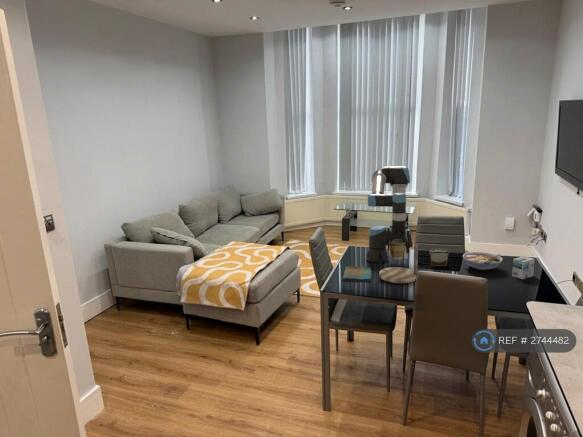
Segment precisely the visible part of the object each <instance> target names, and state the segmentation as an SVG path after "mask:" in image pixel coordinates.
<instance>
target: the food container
mask: <svg viewBox="0 0 583 437" xmlns="http://www.w3.org/2000/svg"><path fill="white" fill-rule="evenodd" d="M428 253H429V255H430V263H431V265H430V266H431V267H435V266H436V267H437V266H438V267H447V263H448V258H449V255H450V251H449V250H448V249H445V248H431V249H430V250H429V252H428Z"/></svg>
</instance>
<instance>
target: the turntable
mask: <svg viewBox="0 0 583 437" xmlns="http://www.w3.org/2000/svg"><path fill="white" fill-rule="evenodd" d="M413 250H414V251H413V254H414V255H413V269H412V268H407V267H400V266H391V267H390V266H389V267H385V268H382V269H381V270H379V272H378V273H379V274H378V277H379V278H380V279H381V280H383V281H385V282H389V283H392V284H408V283H412V282H415V281H416V280H417V279H416V273H417V274H418V264H419V263H418V261H419V260H418V259H419V258H418V257H419V246H418V245H414V247H413ZM415 279H416V280H415Z"/></svg>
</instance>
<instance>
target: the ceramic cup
mask: <svg viewBox="0 0 583 437" xmlns="http://www.w3.org/2000/svg"><path fill="white" fill-rule="evenodd" d="M405 244H406V243H404V242H403V240H400V239H394V240H393V241H392V242H390V240H389V247H390V252H391V256H390V258H391V259H393V260H403V258H404V256H405V248H406V246H405Z"/></svg>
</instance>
